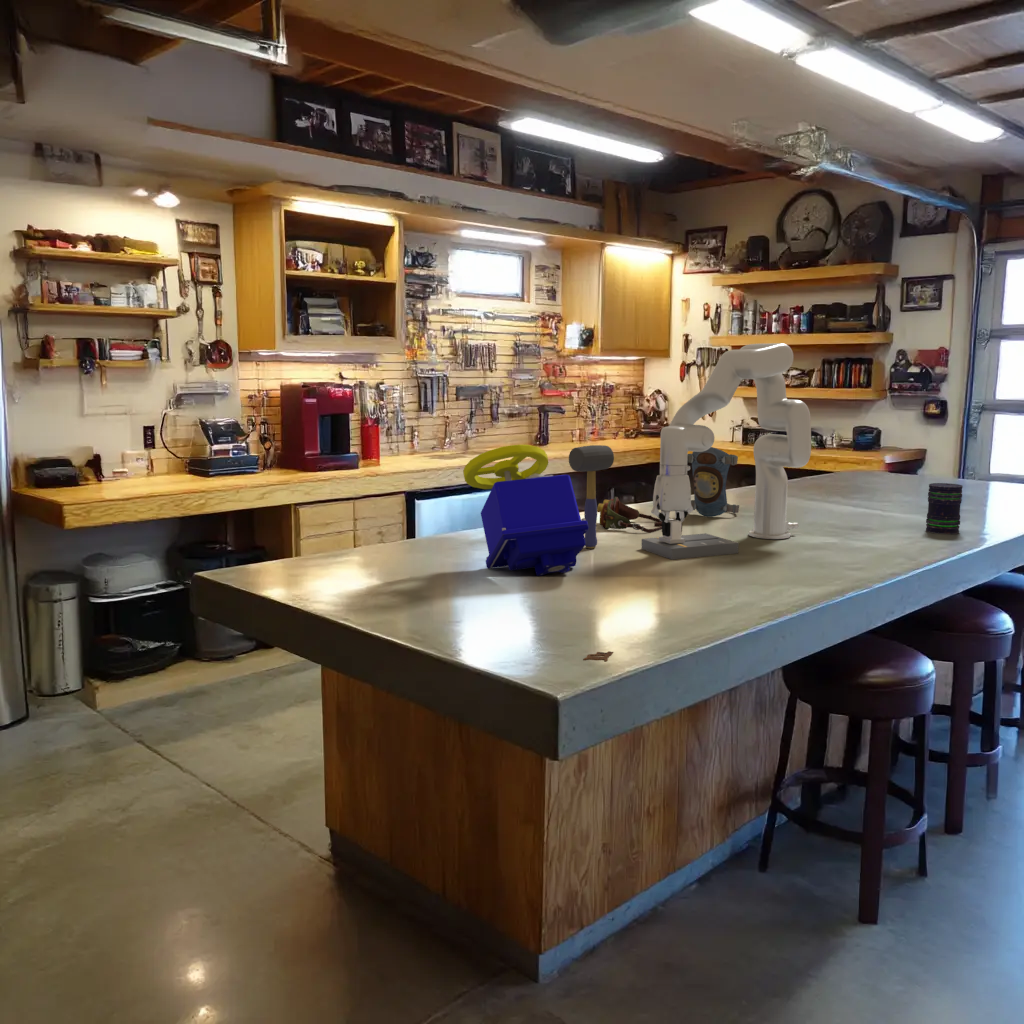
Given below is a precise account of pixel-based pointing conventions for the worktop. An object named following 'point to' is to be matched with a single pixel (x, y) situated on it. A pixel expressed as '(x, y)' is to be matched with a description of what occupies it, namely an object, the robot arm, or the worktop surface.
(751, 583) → the worktop surface
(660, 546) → the console
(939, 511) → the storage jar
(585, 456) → the rubber mallet
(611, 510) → the goggles
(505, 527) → the blue valve actuator
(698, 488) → the knee pad
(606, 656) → the brown piece
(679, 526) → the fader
